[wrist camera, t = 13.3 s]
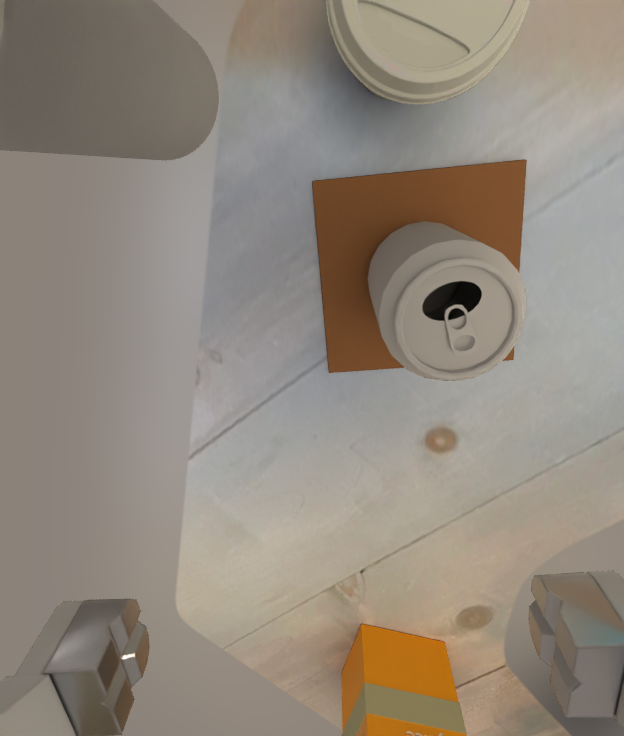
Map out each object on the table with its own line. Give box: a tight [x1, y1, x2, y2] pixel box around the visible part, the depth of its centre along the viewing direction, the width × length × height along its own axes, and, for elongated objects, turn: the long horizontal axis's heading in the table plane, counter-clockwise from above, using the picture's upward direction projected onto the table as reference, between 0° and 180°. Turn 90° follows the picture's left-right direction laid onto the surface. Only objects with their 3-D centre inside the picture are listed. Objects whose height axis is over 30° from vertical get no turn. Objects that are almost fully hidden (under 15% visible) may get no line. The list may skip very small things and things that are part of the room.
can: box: [368, 221, 526, 381], centre depth 29 cm, size 8×8×12 cm
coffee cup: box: [326, 0, 530, 104], centre depth 24 cm, size 9×8×12 cm
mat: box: [312, 160, 527, 373], centre depth 35 cm, size 14×14×1 cm
